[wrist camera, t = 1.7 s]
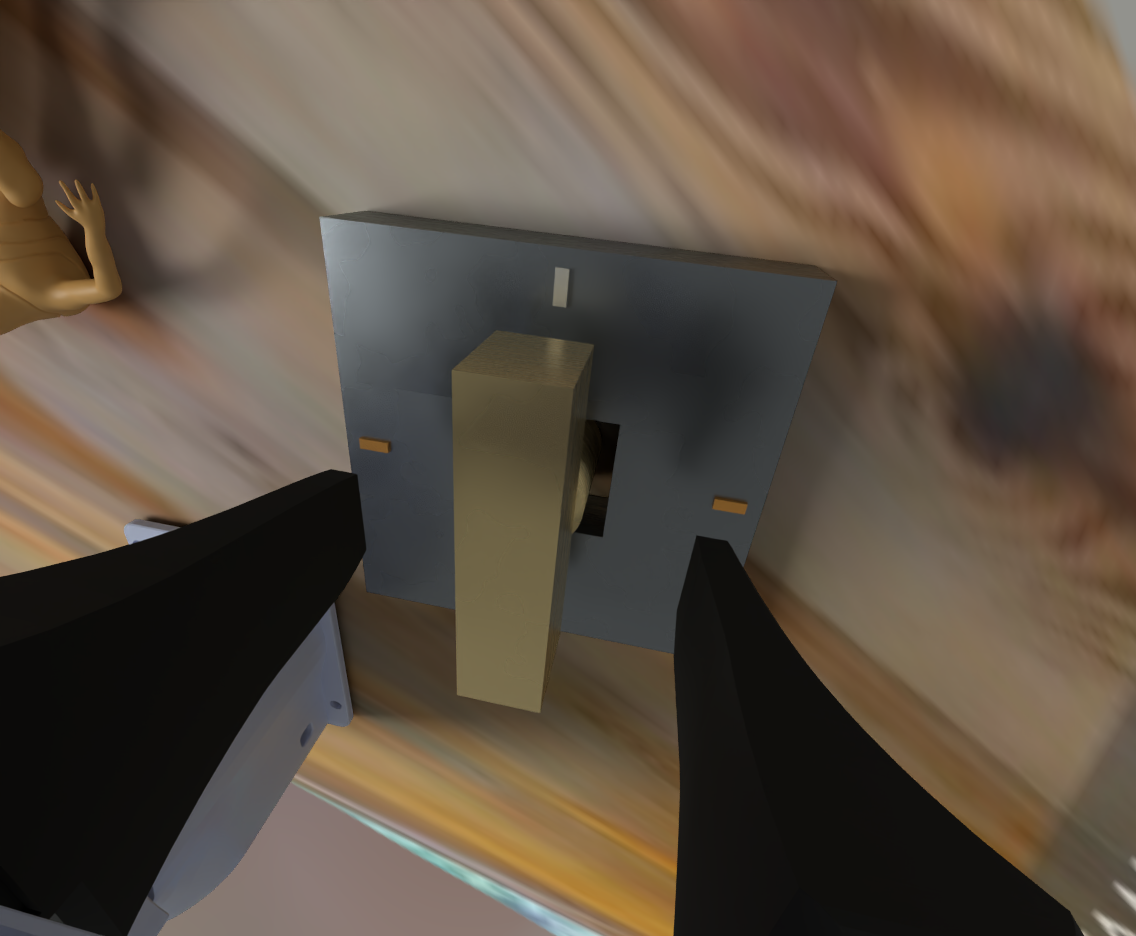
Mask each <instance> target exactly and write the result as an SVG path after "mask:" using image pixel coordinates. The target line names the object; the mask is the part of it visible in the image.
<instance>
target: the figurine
mask: <svg viewBox="0 0 1136 936" xmlns="http://www.w3.org/2000/svg"><path fill="white" fill-rule="evenodd" d="M59 183H60V185H61V186H62V188H63V190H64V191H65V193H66V195H67V197H68V199H69V201H70V203H71V204H72V206H73V207H74V209H69V208H68V207H66V206H65V205H64V204H62V203H61V202H59V201H57V200H55V202H56V203H57V204H58V206H59V207H60V208H61V209H62V210H63V211H64V212H65V213H66V214H67V215H69V216H70V217H71V218H73V219H74V220H76V221H77V222H79V223H80V224H81V225H82V226H83V227H84V229H85V245H86V251H87V255H88V258H89V260H90V262H91V264H92V266H93V273H94V279H90V276H89V274H88V271H87V269H86V267H85V265H84V264H83V262H82V260H81V258H80V257H79V255H78V254H77V252H76V251H75V249H74V247H73V246H72V245H71V243H70V241H69V240H68V238H67V237H66V235H65V234H64V232H63V231H62V230H61V229H60V227H59V226H58V225H57V224H56V223H55V222H54V220H53V219H52V218H51V217H50V216H48V212H47V210H46V207H45V204H44V201H43V198H42V193H43V182H42V179H41V177H40V176H39V174H38V173H37V172H36V170H35V169H34V168H33V167H32V166H31V164H30V163H29V161H28V160H27V157H26V155H25V153H24V151H23V149H22V148H21V146H20V145H19V144H18V143H17V142H16V141H15V140H13V139H12V138H10V137H9V136H8V135H6V134H5V133H4V132H3V131H2V130H1V129H0V335H2V334H5V333H7V332H10V331H12V330H14V329H16V328H18V327H20V326H22V325H25V324H28V323H30V322H33V321H37V320H42V319H49V318H56V317H60V315H63V316H72V315H76V314H78V313H81V312H82V311H84V310H85V309H86V308H87V307H88V306H89V305H90V304H97V303H102V302H106V301H110V300H113V299H115V298H116V297H118V296H119V295H120V294H121V292H122V283H121V279H120V276H119V274H118V271H117V268H116V265H115V260H114V257H113V254H112V250H111V247H110V245H109V243H108V241H107V239H106V236H105V216H104V211H103V208H102V206H101V202H100V198H99V196H98V193H97V190H96V188H95V186H94V184H93V183H91V189H92V194H93V199H92V200H90V199H89V198H88V196H87V194H86V192H85V190H84V189H83V187H82V185H81V184H80V182H79V181H78V180H75V185H76V188H77V190H78V193H79V195H80V198H81V200H79V199H77V198H76V197H75V196H74V195H73V193H72V192H71V191H70V190H69V188H68V187H67V186H66V185H65V183H64V182H63V181H61V180H60V181H59Z"/></svg>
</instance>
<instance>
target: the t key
mask: <svg viewBox="0 0 1136 936" xmlns="http://www.w3.org/2000/svg"><path fill="white" fill-rule="evenodd" d="M593 353H594V344H589V343H582V342H575V341H568V340H561V339H554V338H548V337H541V336H534V335H527V334H520V333H513V332H506V331H499V330H496V331H495V332H494V333H493V334H492V335H490V336H489V337H488V338H487V339H486V340H485V341H484V342H483V343H481V344H480V345H479V346H478V347H477V348H476V349H475V350H474V351H473V352H471V353H470V354H469V355H468V356H467V357H466V358H465V359H464V360H462V361H461V362H460V363H459V364H458V365H457V366H456V367H455V368H453V369H452V425H453V486H454V546H455V607H456V668H457V695H459V696H464V697H468V698H473V699H477V700H482V701H486V702H491V703H496V704H500V705H505V706H509V707H514V708H518V709H523V710H527V711H532V712H537V713H540V711H541V707H542V703H543V699H544V695H545V692H546V688H547V684H548V680H549V676H550V672H551V668H552V664H553V660H554V656H555V652H556V648H557V644H558V640H559V636H560V631H561V622H562V614H563V606H564V597H565V589H566V580H567V572H568V563H569V555H570V547H571V538H572V534H573V533H574V531H575V530H576V529H577V528H578V526H579V524H580V522H581V519H582V516H583V513H584V509H585V505H586V502H587V498H588V494H589V491H590V487H591V483H592V480H593V476H594V472H595V469H596V465H597V461H598V458H599V454H600V450H601V442H602V441H601V434H600V430H599V428H598V425H597V424H596V422H595V421H594V420H588V419H586V412H587V403H588V395H589V387H590V378H591V370H592V361H593Z"/></svg>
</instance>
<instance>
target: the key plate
mask: <svg viewBox="0 0 1136 936" xmlns="http://www.w3.org/2000/svg"><path fill="white" fill-rule="evenodd" d="M320 224H321V232H322V240H323V248H324V256H325V264H326V272H327V280H328V288H329V296H330V304H331V311H332V319H333V327H334V335H335V343H336V351H337V359H338V367H339V375H340V383H341V391H342V399H343V407H344V415H345V423H346V431H347V439H348V447H349V455H350V462H351V470H352V473H354V474H357V475H358V483H359V491H360V499H361V507H362V516H363V524H364V532H365V540H366V548H367V550H366V552H365V554H364V556H363V557H362V558H363V566H364V574H365V582H366V590H367V592H370V593H375V594H380V595H385V596H390V597H395V598H400V599H405V600H410V601H415V602H420V603H425V604H429V605H434V606H439V607H444V608H449V609H454V610H456V607H455V546H454V486H453V425H452V369H453V368H455V367H456V366H457V365H458V364H459V363H460V362H461V361H462V360H464V359H465V358H466V357H467V356H468V355H469V354H470V353H471V352H473V351H474V350H475V349H476V348H477V347H478V346H479V345H480V344H481V343H483V342H484V341H485V340H486V339H487V338H488V337H489V336H490V335H492V334H493V333H494V332H495V331H496V330H499V331H506V332H513V333H520V334H527V335H534V336H541V337H548V338H554V339H561V340H568V341H575V342H582V343H589V344H594V353H593V361H592V370H591V378H590V387H589V395H588V403H587V412H586V419H588V420H594V421H601V422H607V423H613V424H620V429H619V436H618V442H617V449H616V455H615V462H614V468H613V475H612V481H611V487H610V494H609V498H603V497H598V496H592V495H588V498H587V502H586V505H585V509H584V513H583V516H582V519H581V522H580V524H579V526H578V528H577V529H576V530H575V531H574V533H573V534H572V538H571V547H570V555H569V563H568V572H567V580H566V589H565V597H564V606H563V614H562V622H561V631H563V632H568V633H573V634H578V635H583V636H588V637H593V638H598V639H603V640H608V641H613V642H618V643H623V644H628V645H632V646H637V647H642V648H647V649H652V650H657V651H662V652H667V653H672V654H674V643H675V628H676V613H677V608H678V604H679V600H680V596H681V592H682V589H683V585H684V581H685V577H686V573H687V569H688V566H689V562H690V558H691V554H692V550H693V547H694V543H695V539H696V535H698V536H703V537H709V538H714V539H720V540H726V541H728V542H729V544H730V545H731V546H732V548H733V550H734V552H735V554H736V555H737V557H738V559H739V561H740V563H741V564H742V566H743V567H744V564H745V561H746V558H747V555H748V552H749V549H750V546H751V543H752V540H753V537H754V534H755V530H756V527H757V524H758V521H759V518H760V515H761V512H762V509H763V506H764V503H765V500H766V497H767V494H768V491H769V488H770V485H771V482H772V479H773V476H774V473H775V470H776V467H777V463H778V460H779V457H780V454H781V451H782V448H783V445H784V442H785V439H786V436H787V433H788V430H789V427H790V424H791V421H792V418H793V415H794V412H795V409H796V406H797V403H798V400H799V396H800V393H801V390H802V387H803V384H804V381H805V378H806V375H807V372H808V369H809V366H810V363H811V360H812V357H813V354H814V351H815V348H816V345H817V342H818V339H819V336H820V333H821V329H822V326H823V323H824V320H825V317H826V314H827V311H828V308H829V305H830V302H831V299H832V296H833V293H834V290H835V287H836V284H837V281H836V280H835V279H833V278H832V277H830V276H829V275H828V274H826V273H825V272H823V271H822V270H820V269H819V268H818V267H816V266H813V265H805V264H797V263H789V262H781V261H772V260H764V259H756V258H748V257H740V256H731V255H723V254H715V253H707V252H699V251H690V250H682V249H674V248H666V247H657V246H649V245H641V244H633V243H625V242H616V241H608V240H600V239H592V238H584V237H575V236H567V235H559V234H551V233H543V232H534V231H526V230H518V229H510V228H502V227H493V226H485V225H477V224H469V223H460V222H452V221H444V220H436V219H428V218H419V217H411V216H403V215H395V214H387V213H378V212H370V211H360V212H353V213H345V214H338V215H331V216H323V217H320Z"/></svg>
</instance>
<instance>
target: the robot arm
mask: <svg viewBox="0 0 1136 936" xmlns="http://www.w3.org/2000/svg"><path fill="white" fill-rule="evenodd" d="M124 532H125V535H126V538H127V541H128V543H129V545H126V546H122V547H119V548H116V549H112V550H109V551H105V552H102V553H98V554H95V555H91V556H87V557H83V558H79V559H75V560H71V561H67V562H62V563H58V564H54V565H50V566H46V567H42V568H38V569H34V570H30V571H26V572H21V573H17V574H12V575H7V576H2V577H0V936H157V935H158V933H159V932H160V930H161V929H162V927H163V926H164V924H165V923H166V921H168V920H170V919H172V918H174V917H176V916H178V915H180V914H181V913H183V912H184V911H186V910H188V909H189V908H191V907H192V906H193V905H195V904H196V903H198V902H199V901H200V900H202V899H203V898H204V897H205V896H207V895H208V894H209V893H211V892H212V891H213V890H214V889H215V888H216V887H217V886H218V885H219V884H220V883H221V882H222V881H223V880H224V879H225V878H226V877H227V876H228V875H229V874H230V873H231V872H232V871H233V870H234V868H235V867H236V866H237V865H238V863H239V862H240V861H241V859H242V858H243V856H244V855H245V853H246V852H247V850H248V849H249V847H250V845H251V844H252V842H253V841H254V839H255V838H256V836H257V834H258V833H259V831H260V830H261V828H262V826H263V825H264V823H265V822H266V820H267V818H268V817H269V815H270V813H271V812H272V811H273V809H274V807H275V806H276V804H277V803H278V801H279V799H280V798H281V796H282V795H283V793H284V792H285V790H286V788H287V787H288V785H289V784H290V782H291V781H292V779H293V777H294V776H295V774H296V773H297V771H298V769H299V768H300V766H301V765H302V763H303V761H304V760H305V758H306V757H307V755H308V754H309V752H310V750H311V749H312V747H313V746H314V744H315V742H316V741H317V739H318V738H319V736H320V735H321V733H322V731H323V730H324V728H325V727H326V725H327V723H328V724H332V725H336V726H342V727H344V726H348V725H349V724H350V722H351V721H352V719H353V710H352V704H351V698H350V692H349V686H348V680H347V674H346V668H345V662H344V656H343V650H342V644H341V638H340V632H339V626H338V620H337V614H336V608H335V600H336V599H337V598H338V596H339V595H340V594H341V592H342V591H343V590H344V588H345V587H346V585H347V583H348V582H349V580H350V578H351V577H352V575H353V573H354V572H355V570H356V568H357V566H358V565H359V563H360V561H361V559H362V557H363V556H364V554H365V552H366V550H367V548H366V540H365V532H364V524H363V516H362V507H361V499H360V491H359V483H358V475H357V474H354V473H348V472H343V471H337V470H332V469H331V470H328V471H324V472H321V473H318V474H315V475H313V476H310V477H307V478H305V479H302V480H300V481H297V482H295V483H292V484H290V485H287V486H285V487H282V488H280V489H278V490H275V491H273V492H270V493H268V494H265V495H263V496H261V497H258V498H256V499H253V500H251V501H248V502H246V503H243V504H241V505H239V506H236V507H234V508H231V509H229V510H226V511H223V512H221V513H218V514H215V515H213V516H210V517H207V518H205V519H202V520H199V521H197V522H194V523H191V524H189V525H186V526H183V527H176V526H171V525H166V524H161V523H156V522H150V521H145V520H140V519H135V520H133V521H131V522H130V523H128V524H127V525H125V527H124ZM674 672H675V691H676V709H677V726H678V744H679V761H680V808H679V834H678V858H677V879H676V900H675V919H674V936H1084V935H1083V933H1082V931H1081V930H1080V928H1079V926H1078V925H1077V923H1076V921H1075V920H1074V918H1073V916H1072V915H1071V913H1070V911H1069V910H1067V909H1066V908H1065V907H1064V906H1063V905H1061V904H1060V903H1059V902H1058V901H1056V900H1055V899H1054V898H1053V897H1051V896H1050V895H1049V894H1048V893H1046V892H1045V891H1044V890H1043V889H1042V888H1040V887H1039V886H1038V885H1037V884H1035V883H1034V882H1033V881H1032V880H1030V879H1029V878H1028V877H1027V876H1025V875H1024V874H1023V873H1022V872H1021V871H1019V870H1018V869H1017V868H1016V867H1014V866H1013V865H1012V864H1011V863H1009V862H1008V861H1007V860H1006V859H1004V858H1003V857H1002V856H1001V855H1000V854H998V853H997V852H996V851H995V850H993V849H992V848H991V847H990V846H988V845H987V844H986V843H985V842H983V841H982V840H981V839H980V838H979V837H978V836H976V835H975V834H974V833H973V832H972V831H971V830H969V829H968V828H967V827H966V826H965V825H964V824H963V823H961V822H960V821H959V820H958V819H957V818H956V817H955V816H954V815H953V814H951V813H950V812H949V811H948V810H947V809H946V808H945V807H944V806H942V805H941V804H940V803H939V802H938V801H937V800H936V799H935V798H933V797H932V796H931V795H930V794H929V793H928V792H927V791H926V790H925V789H924V788H923V787H921V786H920V785H919V784H918V783H917V782H916V781H915V780H914V779H913V778H912V777H911V776H910V775H909V774H908V773H907V772H906V771H904V770H903V769H902V768H901V767H900V766H899V765H898V764H897V763H896V762H895V761H894V760H893V759H892V758H891V757H890V756H889V755H888V754H887V753H886V752H885V751H884V750H883V749H882V748H881V747H880V746H879V745H878V744H877V743H876V742H875V741H874V740H873V738H872V737H871V736H870V735H869V734H868V733H867V732H866V731H865V730H864V729H863V728H862V727H861V726H860V725H859V724H858V723H857V722H856V721H855V720H854V719H853V718H852V716H851V715H850V714H849V713H848V712H847V711H846V710H845V709H844V708H843V706H842V705H841V704H840V703H839V702H838V701H837V699H836V698H835V697H834V696H833V695H832V694H831V692H830V691H829V690H828V689H827V688H826V687H825V686H824V684H823V683H822V682H821V681H820V680H819V679H818V677H817V676H816V675H815V674H814V672H813V671H812V670H811V669H810V667H809V666H808V665H807V663H806V662H805V661H804V659H803V658H802V657H801V655H800V654H799V653H798V651H797V650H796V649H795V647H794V646H793V644H792V643H791V642H790V640H789V639H788V637H787V636H786V635H785V633H784V632H783V630H782V629H781V627H780V626H779V624H778V623H777V621H776V620H775V618H774V617H773V615H772V614H771V612H770V611H769V609H768V607H767V606H766V604H765V603H764V601H763V600H762V598H761V596H760V595H759V593H758V592H757V590H756V588H755V587H754V585H753V583H752V582H751V580H750V578H749V577H748V575H747V573H746V571H745V570H744V568H743V566H742V564H741V563H740V561H739V559H738V557H737V555H736V554H735V552H734V550H733V548H732V546H731V545H730V544H729V542H728V541H726V540H720V539H714V538H709V537H703V536H698V535H696V539H695V543H694V547H693V550H692V554H691V558H690V562H689V566H688V569H687V573H686V577H685V581H684V585H683V589H682V592H681V596H680V600H679V604H678V608H677V613H676V628H675V643H674Z"/></svg>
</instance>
